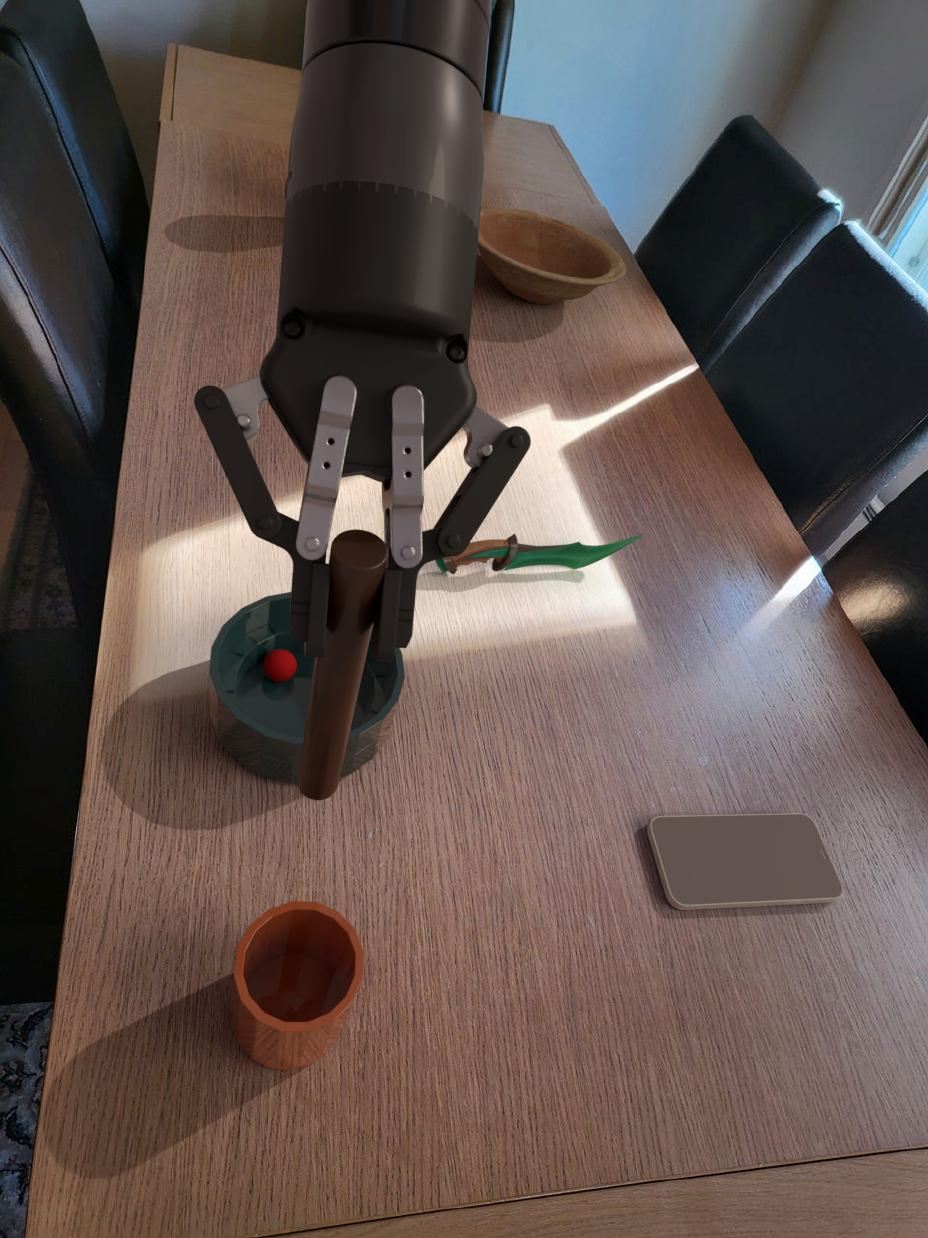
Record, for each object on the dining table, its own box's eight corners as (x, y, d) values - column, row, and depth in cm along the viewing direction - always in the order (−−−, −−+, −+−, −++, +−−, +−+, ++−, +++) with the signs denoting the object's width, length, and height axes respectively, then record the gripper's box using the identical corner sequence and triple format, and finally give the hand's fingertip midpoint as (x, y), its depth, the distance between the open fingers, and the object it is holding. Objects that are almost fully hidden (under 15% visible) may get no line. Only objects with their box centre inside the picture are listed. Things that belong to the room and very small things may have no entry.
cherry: (268, 691, 65) (269, 672, 64) (258, 666, 67) (259, 646, 65) (299, 684, 67) (302, 664, 65) (289, 659, 68) (291, 639, 66)
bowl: (637, 312, 126) (658, 261, 120) (541, 350, 112) (559, 295, 106) (524, 239, 134) (538, 188, 128) (420, 266, 120) (431, 211, 114)
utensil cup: (250, 1091, 48) (256, 1055, 42) (217, 975, 52) (218, 926, 46) (362, 1040, 51) (382, 1000, 45) (324, 934, 55) (337, 884, 49)
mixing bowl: (240, 811, 59) (242, 767, 55) (189, 659, 66) (188, 610, 62) (419, 757, 65) (434, 714, 61) (354, 624, 73) (363, 577, 68)
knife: (434, 581, 78) (445, 543, 75) (429, 567, 80) (440, 529, 76) (630, 573, 86) (649, 539, 82) (623, 561, 87) (642, 526, 83)
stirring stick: (304, 806, 44) (343, 573, 31) (291, 771, 45) (323, 533, 32) (343, 794, 45) (397, 563, 32) (330, 760, 46) (376, 524, 33)
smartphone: (646, 815, 65) (810, 812, 69) (642, 820, 66) (805, 817, 70) (674, 907, 61) (848, 898, 64) (669, 912, 61) (842, 903, 65)
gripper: (188, 135, 27) (154, 659, 28) (584, 212, 30) (540, 681, 31) (206, 222, 34) (178, 636, 36) (524, 278, 38) (490, 656, 39)
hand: (348, 655), depth 33 cm, fingers closed on stirring stick, 2 cm apart
